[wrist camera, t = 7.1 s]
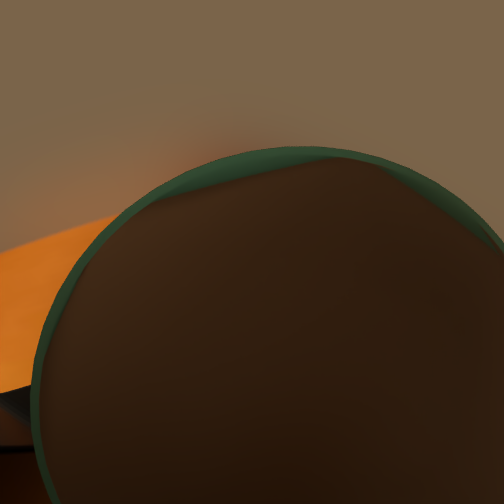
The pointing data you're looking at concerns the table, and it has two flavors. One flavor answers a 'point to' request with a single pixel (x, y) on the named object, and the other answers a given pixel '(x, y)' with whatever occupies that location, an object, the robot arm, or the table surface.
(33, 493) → the robot arm
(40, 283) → the table surface
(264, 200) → the travel tumbler
